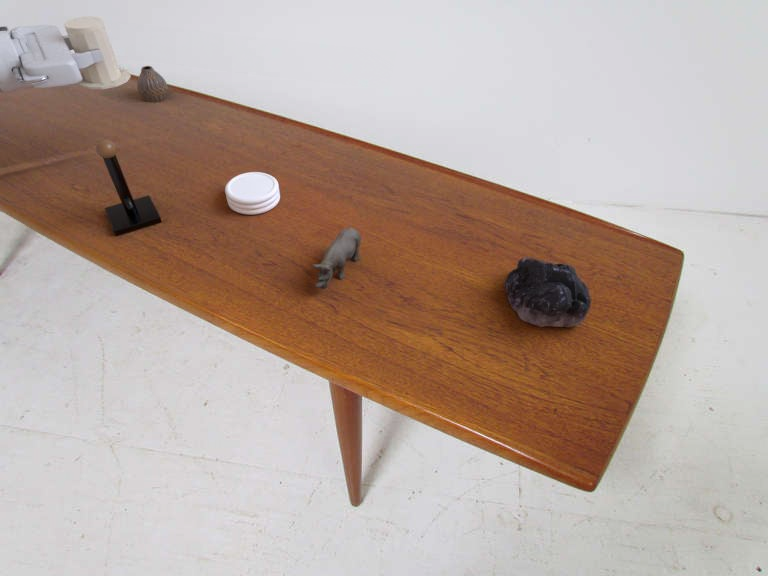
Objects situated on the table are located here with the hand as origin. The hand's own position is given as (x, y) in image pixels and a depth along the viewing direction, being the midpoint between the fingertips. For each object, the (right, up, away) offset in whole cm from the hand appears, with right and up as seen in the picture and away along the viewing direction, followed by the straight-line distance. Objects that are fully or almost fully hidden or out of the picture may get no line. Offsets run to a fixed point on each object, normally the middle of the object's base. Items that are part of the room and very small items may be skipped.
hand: (98, 47), depth 89 cm
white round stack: (+26, -26, +7) cm, 38 cm away
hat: (-1, -4, +4) cm, 6 cm away
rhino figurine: (+43, -41, -6) cm, 60 cm away
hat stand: (+5, -30, +3) cm, 31 cm away
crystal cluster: (+77, -46, -10) cm, 90 cm away
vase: (-5, +3, +35) cm, 36 cm away
